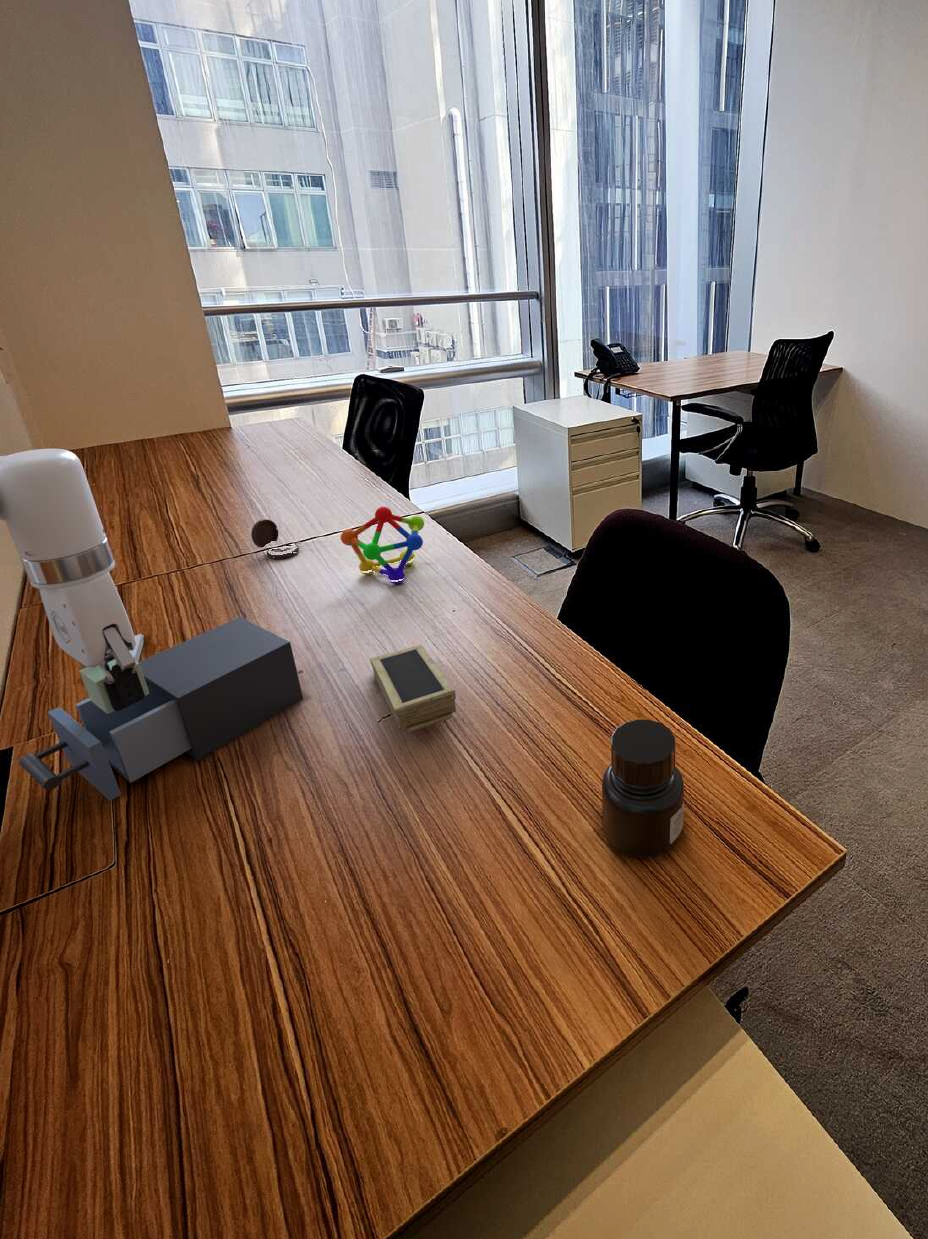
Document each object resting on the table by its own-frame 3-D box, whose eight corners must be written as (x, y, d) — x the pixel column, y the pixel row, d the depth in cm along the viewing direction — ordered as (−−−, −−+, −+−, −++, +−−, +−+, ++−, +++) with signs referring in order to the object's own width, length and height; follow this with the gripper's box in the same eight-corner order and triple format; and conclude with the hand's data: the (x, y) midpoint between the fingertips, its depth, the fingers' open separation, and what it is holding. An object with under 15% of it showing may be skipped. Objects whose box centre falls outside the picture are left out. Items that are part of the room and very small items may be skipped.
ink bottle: (696, 852, 70) (700, 764, 65) (616, 873, 67) (615, 783, 63) (664, 786, 78) (666, 704, 74) (593, 802, 76) (590, 719, 71)
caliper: (140, 703, 93) (127, 666, 91) (131, 706, 93) (118, 669, 90) (144, 637, 109) (133, 604, 107) (136, 639, 109) (125, 606, 106)
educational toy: (378, 605, 121) (357, 532, 114) (350, 581, 130) (329, 513, 123) (452, 571, 130) (436, 503, 123) (421, 551, 139) (406, 486, 132)
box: (402, 746, 83) (395, 710, 82) (366, 681, 102) (361, 651, 100) (465, 724, 87) (460, 689, 86) (420, 665, 106) (415, 636, 105)
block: (107, 714, 77) (95, 682, 75) (90, 701, 79) (78, 670, 77) (149, 694, 80) (139, 663, 78) (132, 682, 82) (121, 651, 81)
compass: (284, 561, 136) (277, 529, 133) (254, 556, 138) (246, 524, 135) (312, 546, 143) (306, 515, 140) (283, 541, 145) (277, 511, 142)
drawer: (65, 827, 72) (41, 772, 69) (25, 785, 78) (1, 732, 75) (227, 733, 86) (213, 684, 83) (183, 704, 92) (168, 657, 89)
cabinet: (197, 760, 83) (177, 698, 79) (149, 725, 89) (129, 665, 85) (303, 698, 94) (290, 641, 90) (254, 671, 100) (240, 616, 97)
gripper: (-2, 556, 74) (53, 690, 81) (60, 595, 65) (116, 741, 72) (77, 533, 80) (122, 660, 86) (143, 566, 71) (188, 703, 78)
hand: (119, 695), depth 79 cm, fingers closed on block, 4 cm apart
